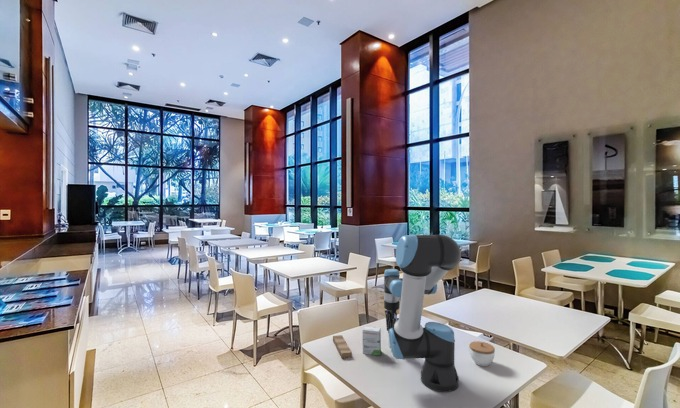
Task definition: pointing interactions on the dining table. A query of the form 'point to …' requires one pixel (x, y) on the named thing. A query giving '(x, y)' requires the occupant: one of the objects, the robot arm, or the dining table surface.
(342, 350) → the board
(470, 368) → the dining table surface
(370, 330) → the ink box
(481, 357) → the lidded jar
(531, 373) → the dining table surface
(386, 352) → the dining table surface
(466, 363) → the dining table surface
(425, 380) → the robot arm
